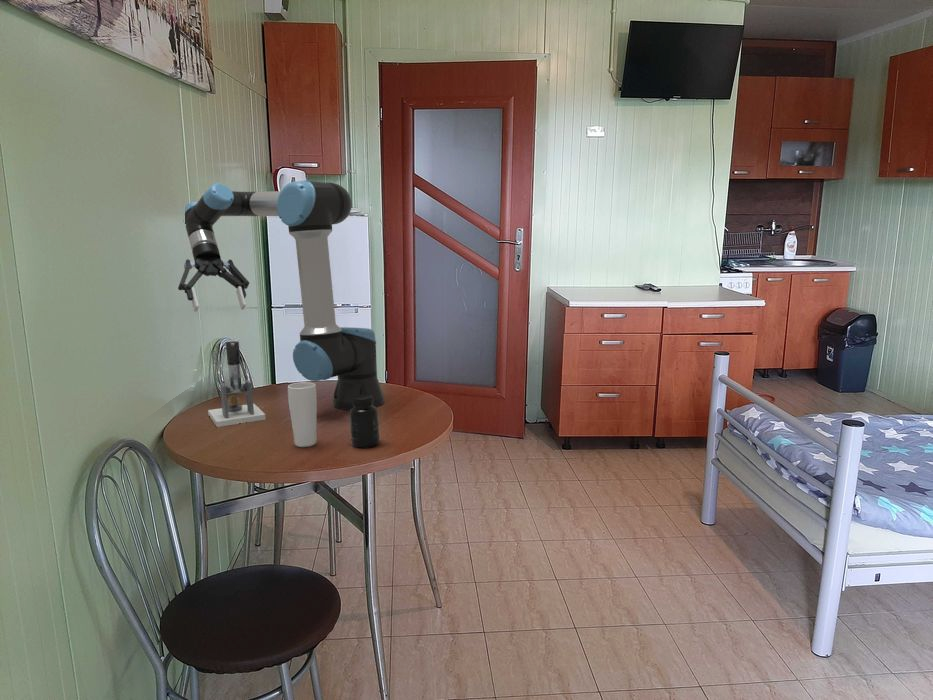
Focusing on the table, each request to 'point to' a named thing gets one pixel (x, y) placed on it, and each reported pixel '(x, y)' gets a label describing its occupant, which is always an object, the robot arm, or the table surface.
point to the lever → (234, 368)
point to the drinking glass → (303, 412)
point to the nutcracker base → (236, 409)
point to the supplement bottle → (364, 422)
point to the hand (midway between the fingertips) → (220, 308)
